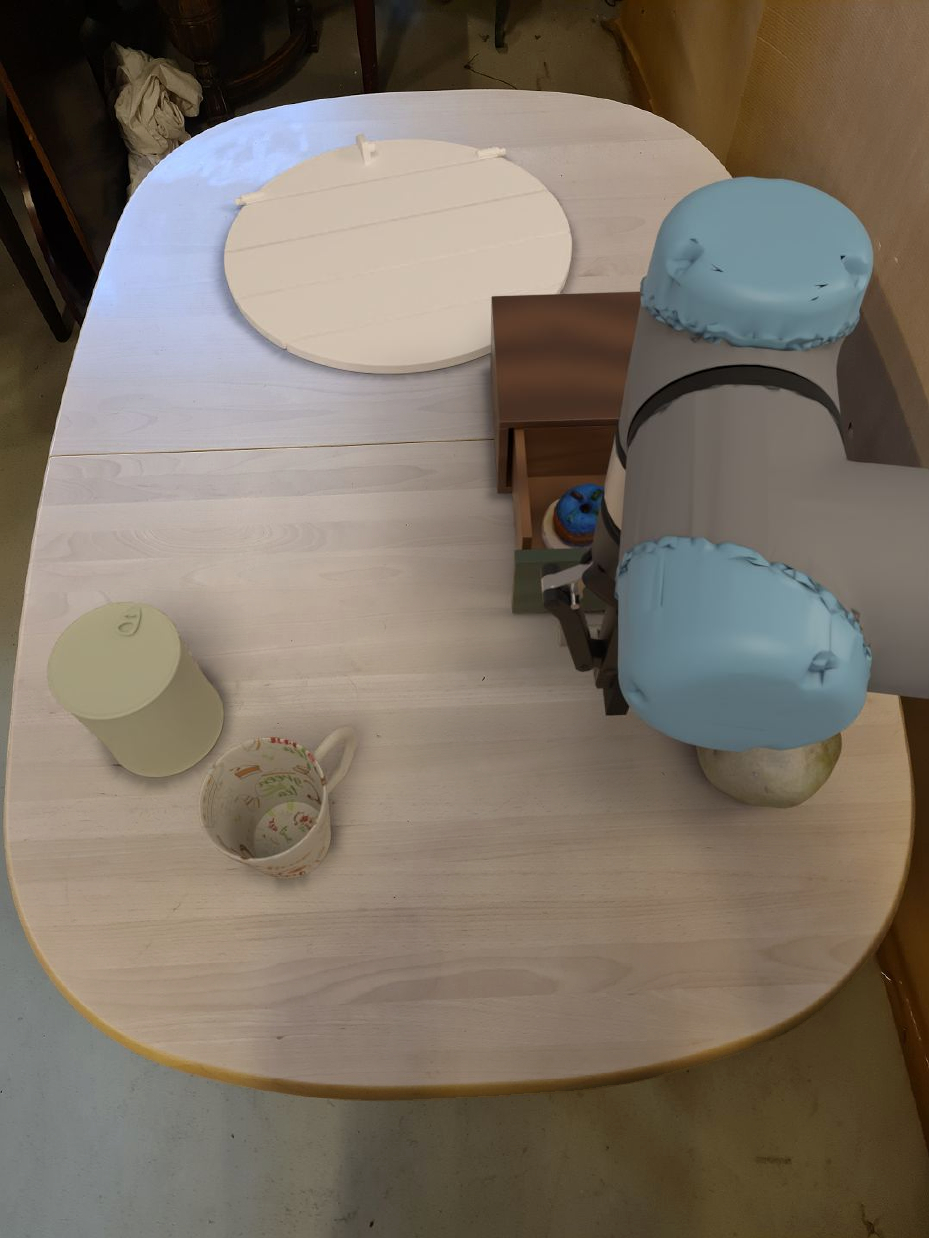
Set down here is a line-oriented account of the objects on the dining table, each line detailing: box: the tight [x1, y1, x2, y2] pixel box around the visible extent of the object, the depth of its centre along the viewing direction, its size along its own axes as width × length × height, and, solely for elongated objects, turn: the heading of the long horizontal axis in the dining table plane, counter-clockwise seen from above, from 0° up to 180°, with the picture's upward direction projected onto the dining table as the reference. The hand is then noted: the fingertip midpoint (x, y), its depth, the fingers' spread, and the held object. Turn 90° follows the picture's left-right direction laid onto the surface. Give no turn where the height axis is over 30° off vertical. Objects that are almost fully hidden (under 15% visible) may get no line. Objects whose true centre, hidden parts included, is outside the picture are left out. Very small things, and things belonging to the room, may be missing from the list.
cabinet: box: [489, 291, 641, 494], centre depth 80 cm, size 16×15×10 cm
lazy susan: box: [223, 133, 573, 375], centre depth 96 cm, size 40×39×3 cm
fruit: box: [695, 731, 843, 809], centre depth 61 cm, size 10×9×12 cm
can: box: [46, 601, 225, 778], centre depth 64 cm, size 9×9×12 cm
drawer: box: [510, 425, 617, 648], centre depth 71 cm, size 20×13×8 cm, turn 2°
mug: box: [197, 724, 359, 880], centre depth 61 cm, size 8×13×10 cm, turn 145°
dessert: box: [541, 484, 604, 549], centre depth 74 cm, size 8×7×6 cm
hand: (614, 698), depth 63 cm, fingers closed
